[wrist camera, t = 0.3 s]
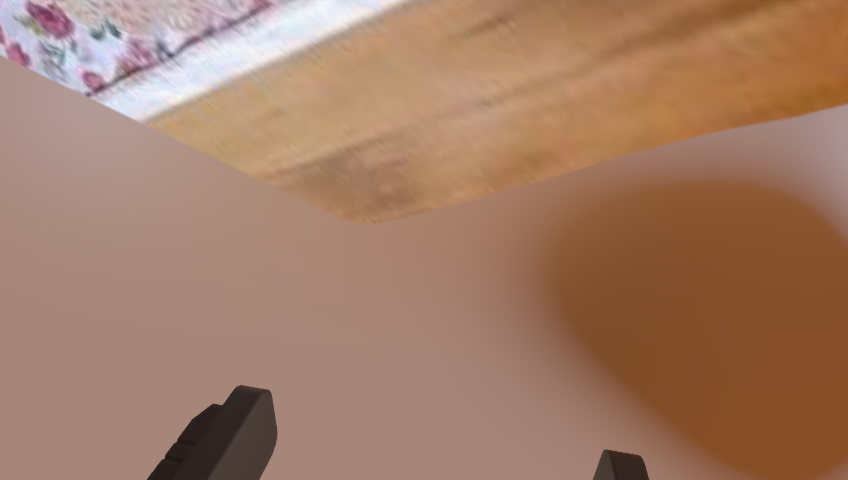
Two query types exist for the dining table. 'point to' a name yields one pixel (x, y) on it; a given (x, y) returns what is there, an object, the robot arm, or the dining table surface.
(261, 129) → the dining table surface
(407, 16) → the dining table surface
